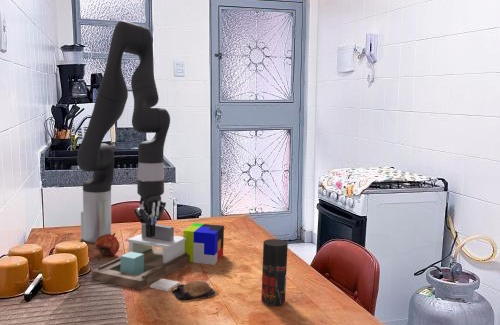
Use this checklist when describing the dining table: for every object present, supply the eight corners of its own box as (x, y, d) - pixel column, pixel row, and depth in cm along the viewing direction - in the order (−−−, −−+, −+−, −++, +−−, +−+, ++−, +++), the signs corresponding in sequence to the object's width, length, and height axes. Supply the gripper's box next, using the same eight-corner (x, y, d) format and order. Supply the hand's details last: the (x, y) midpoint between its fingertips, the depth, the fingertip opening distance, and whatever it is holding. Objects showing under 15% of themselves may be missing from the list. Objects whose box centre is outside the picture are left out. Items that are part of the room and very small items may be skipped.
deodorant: (260, 296, 121) (262, 239, 120) (283, 296, 122) (285, 239, 120) (262, 306, 116) (264, 246, 114) (286, 306, 116) (289, 246, 114)
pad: (150, 287, 125) (150, 285, 125) (161, 280, 130) (162, 278, 130) (168, 291, 123) (168, 288, 123) (179, 284, 128) (179, 282, 128)
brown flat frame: (91, 278, 129) (91, 268, 129) (146, 253, 152) (146, 245, 152) (140, 289, 123) (141, 279, 123) (190, 261, 146) (190, 252, 146)
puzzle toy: (214, 266, 144) (215, 233, 143) (182, 262, 146) (183, 230, 145) (223, 256, 154) (224, 225, 153) (193, 252, 156) (194, 223, 155)
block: (120, 277, 132) (120, 255, 131) (130, 272, 136) (130, 251, 135) (133, 279, 130) (134, 258, 129) (143, 274, 134) (143, 253, 133)
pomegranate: (111, 267, 145) (130, 242, 151) (98, 252, 141) (117, 226, 147) (96, 265, 149) (115, 240, 155) (82, 250, 145) (102, 225, 151)
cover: (127, 256, 142) (127, 225, 141) (147, 247, 151) (147, 218, 150) (167, 263, 136) (168, 232, 135) (186, 254, 145) (186, 224, 144)
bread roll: (206, 286, 129) (206, 273, 128) (220, 297, 121) (220, 283, 121) (168, 292, 123) (169, 278, 123) (181, 304, 116) (181, 290, 116)
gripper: (152, 174, 144) (152, 229, 147) (125, 179, 132) (125, 240, 134) (174, 176, 142) (173, 233, 144) (148, 182, 130) (148, 244, 132)
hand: (150, 236), depth 139 cm, fingers closed
